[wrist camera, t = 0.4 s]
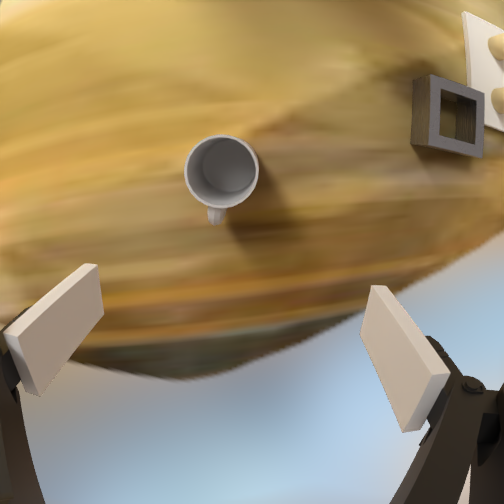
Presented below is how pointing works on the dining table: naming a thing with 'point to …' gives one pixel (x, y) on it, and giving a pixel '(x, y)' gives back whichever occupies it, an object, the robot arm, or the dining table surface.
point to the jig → (486, 65)
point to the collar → (428, 116)
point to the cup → (221, 173)
